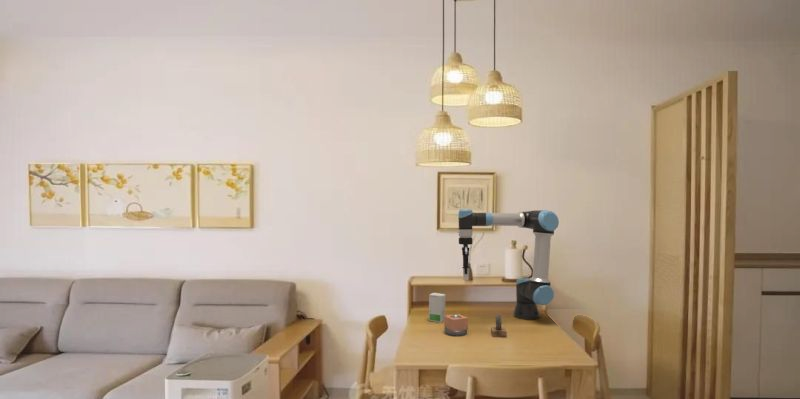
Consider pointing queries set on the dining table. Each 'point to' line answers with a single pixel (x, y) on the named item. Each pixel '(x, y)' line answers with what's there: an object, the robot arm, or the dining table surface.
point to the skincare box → (437, 307)
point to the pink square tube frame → (456, 323)
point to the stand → (498, 328)
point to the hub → (455, 333)
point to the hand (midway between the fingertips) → (465, 279)
